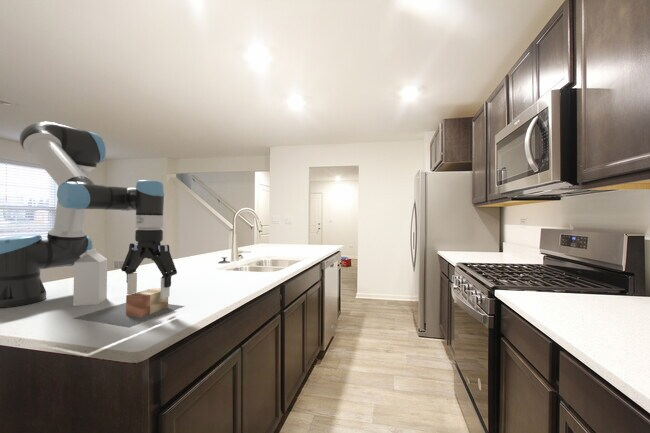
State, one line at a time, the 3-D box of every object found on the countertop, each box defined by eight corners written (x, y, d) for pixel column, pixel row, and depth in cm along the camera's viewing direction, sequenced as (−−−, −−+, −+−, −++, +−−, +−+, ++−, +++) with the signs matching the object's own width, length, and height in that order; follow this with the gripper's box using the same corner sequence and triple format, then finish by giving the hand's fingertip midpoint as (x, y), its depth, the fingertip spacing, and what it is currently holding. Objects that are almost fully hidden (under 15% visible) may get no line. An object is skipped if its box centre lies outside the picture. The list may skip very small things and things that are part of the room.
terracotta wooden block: (154, 305, 98) (154, 287, 98) (168, 307, 96) (168, 289, 96) (125, 315, 88) (126, 295, 88) (141, 317, 86) (141, 297, 86)
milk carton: (106, 300, 105) (107, 248, 105) (98, 305, 99) (99, 250, 99) (83, 301, 103) (84, 248, 103) (72, 307, 96) (74, 250, 96)
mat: (72, 320, 85) (72, 318, 85) (135, 301, 104) (135, 299, 104) (129, 329, 78) (129, 327, 78) (184, 307, 98) (184, 306, 98)
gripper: (108, 228, 92) (107, 294, 92) (171, 230, 85) (169, 302, 85) (130, 227, 99) (129, 289, 99) (190, 229, 92) (188, 296, 92)
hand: (148, 295), depth 92 cm, fingers open, 13 cm apart
